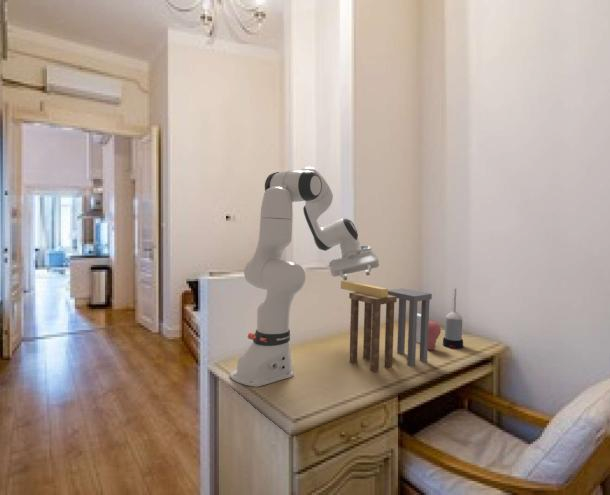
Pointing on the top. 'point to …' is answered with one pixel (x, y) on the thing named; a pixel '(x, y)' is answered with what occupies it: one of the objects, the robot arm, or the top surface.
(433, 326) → the light bulb
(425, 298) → the charcoal stand
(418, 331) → the skincare box
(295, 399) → the top surface
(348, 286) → the ochre bar
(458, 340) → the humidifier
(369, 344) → the walnut stand
